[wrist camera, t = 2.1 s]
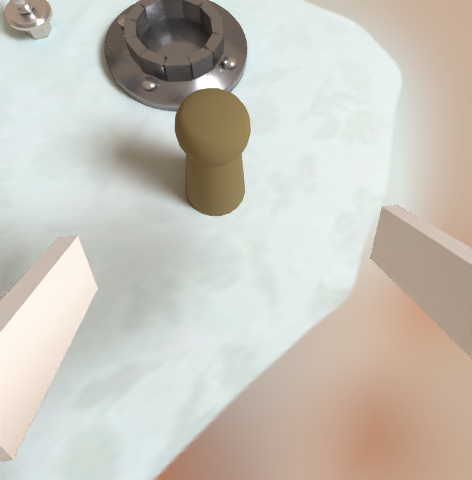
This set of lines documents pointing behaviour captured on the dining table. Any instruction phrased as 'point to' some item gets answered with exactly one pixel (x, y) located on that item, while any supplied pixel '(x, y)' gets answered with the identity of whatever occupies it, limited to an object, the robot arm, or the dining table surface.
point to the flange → (175, 50)
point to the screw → (29, 16)
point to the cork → (213, 149)
